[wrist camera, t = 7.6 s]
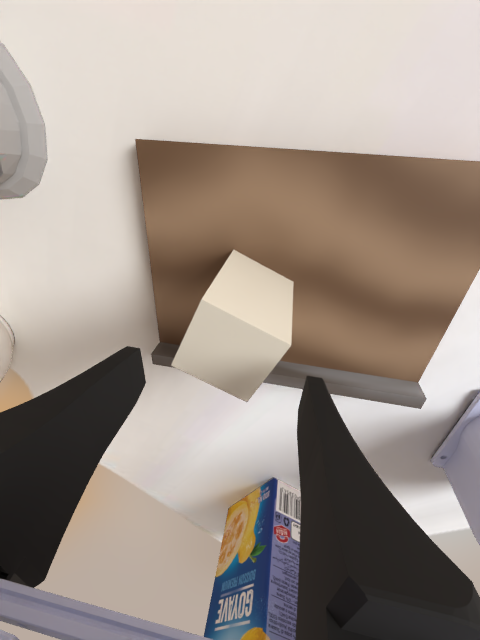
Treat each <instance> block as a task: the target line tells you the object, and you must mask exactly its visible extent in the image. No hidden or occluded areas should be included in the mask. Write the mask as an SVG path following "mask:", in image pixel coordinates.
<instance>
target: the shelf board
mask: <svg viewBox="0 0 480 640" xmlns="http://www.w3.org/2000/svg"><path fill="white" fill-rule="evenodd" d="M135 140H136V148H137V157H138V165H139V173H140V181H141V190H142V198H143V206H144V214H145V223H146V231H147V239H148V247H149V256H150V264H151V272H152V280H153V289H154V297H155V305H156V314H157V322H158V330H159V338H160V343H159V344H158V346H157V347H156V348H155V350H154V351H153V352H152V354H151V355H152V362H153V364H156V365H162V366H168V367H173V366H171V364H172V362H173V360H174V358H175V355H176V353H177V351H178V349H179V347H180V345H181V342H182V340H183V338H184V336H185V334H186V332H187V330H188V327H189V325H190V323H191V321H192V319H193V317H194V314H195V312H196V310H197V308H198V306H199V304H200V302H201V299H202V298H203V296H204V295H205V293H206V292H207V290H208V288H209V287H210V285H211V284H212V282H213V281H214V279H215V278H216V276H217V274H218V273H219V271H220V270H221V268H222V267H223V265H224V264H225V262H226V260H227V259H228V257H229V256H230V254H231V253H232V251H233V250H235V251H237V252H239V253H241V254H243V255H245V256H246V257H248V258H250V259H252V260H254V261H256V262H258V263H259V264H261V265H263V266H265V267H267V268H269V269H271V270H272V271H274V272H276V273H278V274H280V275H282V276H284V277H285V278H287V279H289V280H291V281H293V282H294V283H293V312H292V340H291V347H290V348H289V349H288V350H287V352H286V353H285V354H284V355H283V357H282V358H281V359H280V361H279V362H278V363H277V364H276V366H275V367H274V368H273V370H272V371H271V372H270V373H269V375H268V376H267V377H266V379H265V380H264V381H263V382H264V383H270V384H276V385H282V386H288V387H294V388H300V389H303V388H304V384H305V380H306V376H313V377H319V378H322V379H323V380H324V382H325V384H326V387H327V389H328V391H329V394H335V395H341V396H347V397H353V398H359V399H365V400H371V401H377V402H383V403H389V404H395V405H401V406H407V407H413V408H419V409H421V407H422V406H423V404H424V402H425V401H426V397H425V395H424V393H423V391H422V389H421V387H420V385H419V383H418V382H419V380H420V378H421V376H422V374H423V372H424V371H425V369H426V367H427V365H428V363H429V361H430V360H431V358H432V356H433V354H434V352H435V350H436V348H437V347H438V345H439V343H440V341H441V339H442V337H443V336H444V334H445V332H446V330H447V328H448V326H449V324H450V323H451V321H452V319H453V317H454V315H455V313H456V312H457V310H458V308H459V306H460V304H461V302H462V300H463V299H464V297H465V295H466V293H467V291H468V289H469V288H470V286H471V284H472V282H473V280H474V278H475V276H476V275H477V273H478V271H479V269H480V162H479V161H463V160H448V159H433V158H417V157H402V156H387V155H371V154H356V153H341V152H326V151H310V150H295V149H280V148H264V147H249V146H234V145H218V144H203V143H188V142H172V141H157V140H142V139H135ZM174 368H175V367H174Z"/></svg>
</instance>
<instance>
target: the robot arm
mask: <svg viewBox="0 0 480 640" xmlns="http://www.w3.org/2000/svg"><path fill="white" fill-rule="evenodd" d="M145 383H146V381H145V375H144V369H143V363H142V357H141V351H140V348H134V347H128V346H127V347H125V348H123V349H121V350H120V351H118V352H116V353H115V354H113V355H111V356H110V357H108V358H106V359H105V360H103V361H102V362H100V363H98V364H97V365H95V366H93V367H92V368H90V369H88V370H87V371H85V372H83V373H81V374H80V375H78V376H76V377H74V378H72V379H71V380H69V381H67V382H65V383H63V384H62V385H60V386H58V387H56V388H54V389H52V390H50V391H48V392H46V393H44V394H42V395H40V396H38V397H36V398H34V399H32V400H30V401H27V402H25V403H23V404H21V405H18V406H16V407H13V408H11V409H8V410H6V411H3V412H1V413H0V621H3V622H6V623H9V624H12V625H16V626H19V627H22V628H26V629H29V630H32V631H35V632H38V633H42V634H45V635H48V636H51V637H55V638H58V639H61V640H213V639H209V638H206V637H202V636H199V635H196V634H192V633H189V632H185V631H182V630H178V629H175V628H171V627H168V626H164V625H161V624H157V623H153V622H150V621H147V620H143V619H140V618H136V617H133V616H129V615H126V614H122V613H119V612H115V611H112V610H108V609H105V608H101V607H98V606H94V605H90V604H88V603H84V602H80V601H77V600H74V599H70V598H67V597H63V596H60V595H56V594H53V593H49V592H45V591H42V590H39V589H35V588H34V587H36V586H37V585H39V584H40V583H41V582H43V581H44V580H45V578H46V575H47V573H48V570H49V568H50V566H51V563H52V561H53V559H54V556H55V554H56V552H57V549H58V547H59V544H60V542H61V539H62V537H63V535H64V533H65V531H66V528H67V526H68V524H69V522H70V520H71V517H72V515H73V513H74V511H75V509H76V507H77V505H78V503H79V501H80V499H81V496H82V494H83V492H84V490H85V488H86V486H87V484H88V482H89V480H90V478H91V476H92V475H93V473H94V471H95V469H96V467H97V465H98V463H99V461H100V459H101V458H102V456H103V454H104V453H105V451H106V449H107V448H108V446H109V445H110V443H111V441H112V440H113V438H114V437H115V435H116V434H117V432H118V431H119V429H120V428H121V426H122V425H123V423H124V422H125V420H126V418H127V417H128V415H129V414H130V412H131V411H132V409H133V407H134V406H135V404H136V402H137V400H138V398H139V396H140V394H141V392H142V390H143V388H144V386H145ZM297 440H298V457H299V472H300V488H301V520H300V552H299V577H298V599H297V618H296V637H295V640H480V597H479V595H478V593H477V591H476V589H475V587H474V585H473V583H472V581H470V579H469V578H468V577H467V576H466V575H465V574H464V573H463V572H462V571H461V570H460V569H459V568H458V567H457V566H456V565H455V564H454V563H453V562H452V561H451V560H450V559H449V558H448V557H447V556H446V555H445V554H444V553H443V552H442V551H441V550H440V549H439V548H438V547H437V545H436V544H435V543H434V542H433V541H432V540H431V539H430V538H429V537H428V536H427V535H426V533H425V532H424V531H423V530H422V529H421V528H420V527H419V526H418V525H417V523H416V522H415V521H414V520H413V519H412V518H411V516H410V515H409V514H408V513H407V512H406V510H405V509H404V508H403V507H402V505H401V504H400V503H399V502H398V501H397V499H396V498H395V497H394V496H393V495H392V493H391V492H390V491H389V490H388V488H387V487H386V486H385V484H384V483H383V482H382V480H381V479H380V478H379V476H378V475H377V474H376V472H375V471H374V469H373V468H372V467H371V465H370V464H369V462H368V461H367V459H366V458H365V456H364V455H363V453H362V452H361V450H360V449H359V447H358V446H357V444H356V442H355V441H354V439H353V437H352V436H351V434H350V432H349V431H348V429H347V427H346V425H345V423H344V422H343V420H342V418H341V416H340V414H339V412H338V410H337V408H336V406H335V404H334V402H333V400H332V398H331V396H330V394H329V391H328V389H327V387H326V384H325V382H324V380H323V379H322V378H319V377H313V376H306V380H305V384H304V388H303V392H302V397H301V401H300V405H299V409H298V425H297ZM431 462H432V464H433V465H434V466H436V467H441V468H443V469H444V471H445V473H446V475H447V477H448V479H449V482H450V484H451V486H452V488H453V490H454V493H455V495H456V497H457V499H458V501H459V504H460V506H461V508H462V510H463V512H464V515H465V517H466V519H467V521H468V523H469V526H470V528H471V530H472V532H473V534H474V536H475V538H476V540H477V542H478V543H479V545H480V393H479V394H478V395H477V396H476V398H475V399H474V400H473V402H472V403H471V405H470V406H469V407H468V409H467V410H466V411H465V413H464V414H463V416H462V417H461V418H460V420H459V421H458V423H457V424H456V425H455V427H454V428H453V430H452V431H451V432H450V434H449V435H448V436H447V438H446V439H445V441H444V442H443V443H442V445H441V446H440V448H439V449H438V450H437V452H436V453H435V455H434V456H433V457H432V459H431ZM0 640H19V639H18V638H17V637H16V636H15V635H13V634H10V633H7V632H5V631H3V630H0Z"/></svg>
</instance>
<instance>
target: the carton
mask: <svg viewBox="0 0 480 640" xmlns="http://www.w3.org/2000/svg"><path fill="white" fill-rule="evenodd" d="M293 283H294V282H293V281H291V280H289V279H287V278H285V277H284V276H282V275H280V274H278V273H276V272H274V271H272V270H271V269H269V268H267V267H265V266H263V265H261V264H259V263H258V262H256V261H254V260H252V259H250V258H248V257H246V256H245V255H243V254H241V253H239V252H237V251H235V250H233V251H232V253H231V254H230V256H229V257H228V259H227V260H226V262H225V264H224V265H223V267H222V268H221V270H220V271H219V273H218V274H217V276H216V278H215V279H214V281H213V282H212V284H211V285H210V287H209V288H208V290H207V292H206V293H205V295H204V296H203V298H202V299H201V302H200V304H199V306H198V308H197V310H196V312H195V314H194V317H193V319H192V321H191V323H190V325H189V327H188V330H187V332H186V334H185V336H184V338H183V340H182V342H181V345H180V347H179V349H178V351H177V353H176V355H175V358H174V360H173V362H172V364H171V366H173V367H175V368H177V369H179V370H181V371H183V372H185V373H187V374H190V375H192V376H194V377H196V378H198V379H200V380H202V381H204V382H206V383H208V384H210V385H212V386H214V387H216V388H218V389H221V390H223V391H225V392H227V393H229V394H231V395H233V396H235V397H237V398H239V399H241V400H243V401H245V402H248V400H249V399H250V398H251V397H252V395H253V394H254V393H255V391H256V390H257V389H258V388H259V386H260V385H261V384H262V382H263V381H264V380H265V379H266V377H267V376H268V375H269V373H270V372H271V371H272V370H273V368H274V367H275V366H276V364H277V363H278V362H279V361H280V359H281V358H282V357H283V355H284V354H285V353H286V352H287V350H288V349H289V348H290V347H291V340H292V312H293Z"/></svg>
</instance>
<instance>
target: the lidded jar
mask: <svg viewBox="0 0 480 640" xmlns="http://www.w3.org/2000/svg"><path fill="white" fill-rule="evenodd" d="M14 342H15V339H14V334H13V332H12V330H11V328H10V326H9V325H8V323H7V322H6V321H5V320H4V318H3V317H2V316H1V315H0V382H1V380H2V379H3V378H4V376H5V374H6V373H7V371H8V369H9V367H10V364H11V361H12V355H13V348H12V347H13V346H14Z"/></svg>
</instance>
